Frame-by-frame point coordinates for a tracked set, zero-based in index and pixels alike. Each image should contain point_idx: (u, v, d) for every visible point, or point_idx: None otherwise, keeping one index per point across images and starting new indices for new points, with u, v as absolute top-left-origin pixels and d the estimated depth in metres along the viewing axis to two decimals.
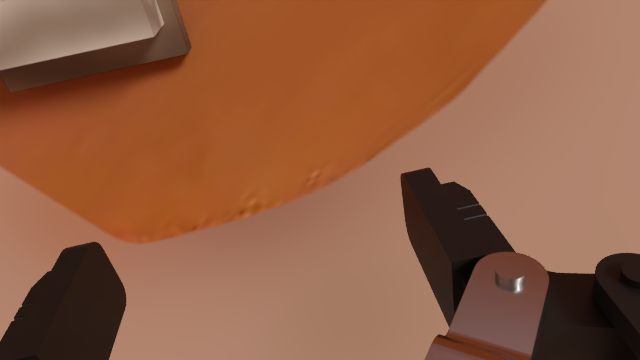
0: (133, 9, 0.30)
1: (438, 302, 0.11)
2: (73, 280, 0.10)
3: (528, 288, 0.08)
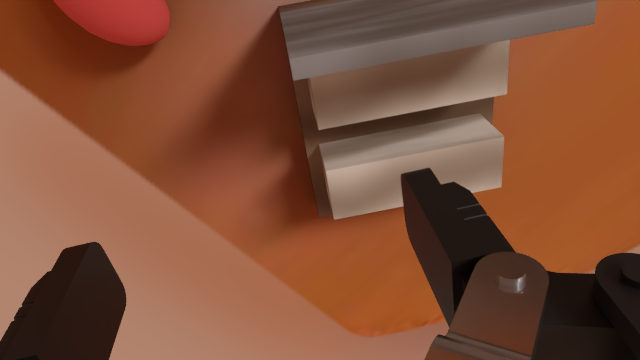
0: (493, 165, 0.32)
1: (438, 302, 0.11)
2: (73, 280, 0.10)
3: (528, 288, 0.08)
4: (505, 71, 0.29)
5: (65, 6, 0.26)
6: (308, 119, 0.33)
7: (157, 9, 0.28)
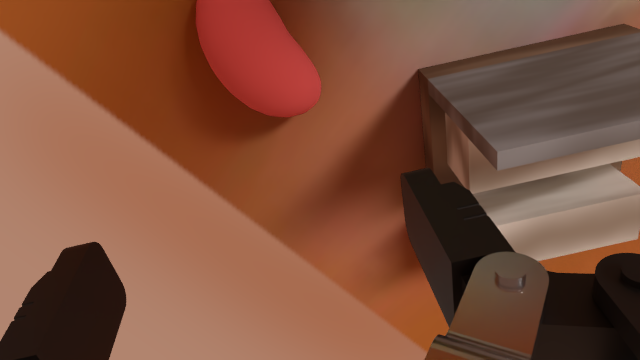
0: (632, 219, 0.32)
1: (438, 302, 0.11)
2: (73, 280, 0.10)
3: (528, 288, 0.08)
4: None
5: (237, 87, 0.26)
6: (442, 176, 0.33)
7: (315, 83, 0.28)
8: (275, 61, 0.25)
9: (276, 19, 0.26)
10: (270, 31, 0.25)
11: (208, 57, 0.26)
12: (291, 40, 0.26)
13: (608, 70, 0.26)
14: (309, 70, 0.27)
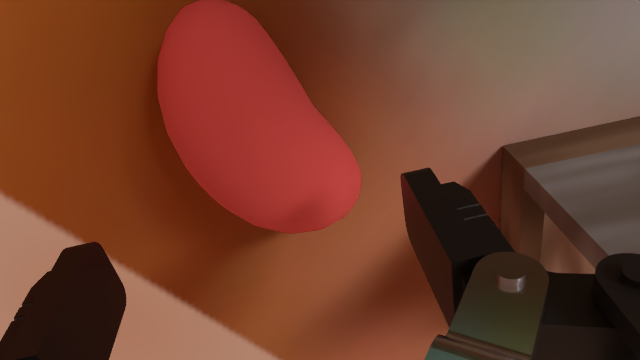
0: None
1: (438, 302, 0.11)
2: (73, 280, 0.10)
3: (528, 288, 0.08)
4: None
5: (227, 202, 0.16)
6: None
7: (355, 182, 0.17)
8: (291, 162, 0.15)
9: (294, 89, 0.15)
10: (284, 113, 0.14)
11: (178, 152, 0.15)
12: (318, 121, 0.16)
13: None
14: (346, 165, 0.17)
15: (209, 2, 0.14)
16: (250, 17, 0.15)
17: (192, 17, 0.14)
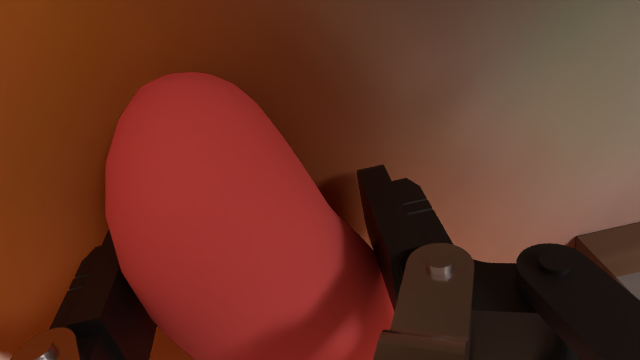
0: None
1: (388, 292, 0.11)
2: None
3: (453, 276, 0.08)
4: None
5: None
6: None
7: None
8: (307, 320, 0.10)
9: (311, 205, 0.10)
10: (297, 249, 0.09)
11: (138, 297, 0.10)
12: (344, 243, 0.11)
13: None
14: (383, 298, 0.12)
15: (181, 81, 0.09)
16: (244, 100, 0.10)
17: (154, 106, 0.09)
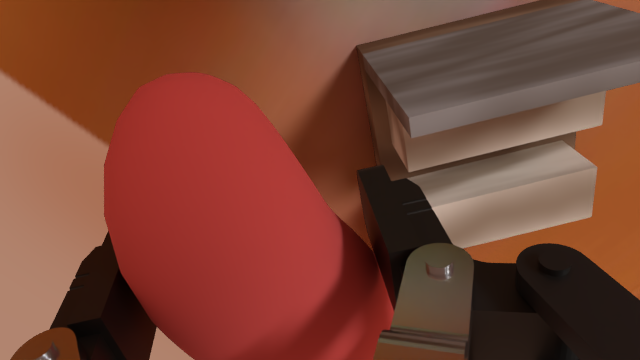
0: (584, 196, 0.31)
1: None
2: None
3: (453, 276, 0.08)
4: (601, 102, 0.28)
5: None
6: (388, 157, 0.32)
7: (392, 315, 0.12)
8: (306, 320, 0.10)
9: (309, 206, 0.10)
10: (295, 249, 0.09)
11: (137, 297, 0.10)
12: (343, 243, 0.11)
13: (541, 36, 0.25)
14: (382, 298, 0.12)
15: (180, 81, 0.09)
16: (242, 100, 0.10)
17: (153, 107, 0.09)
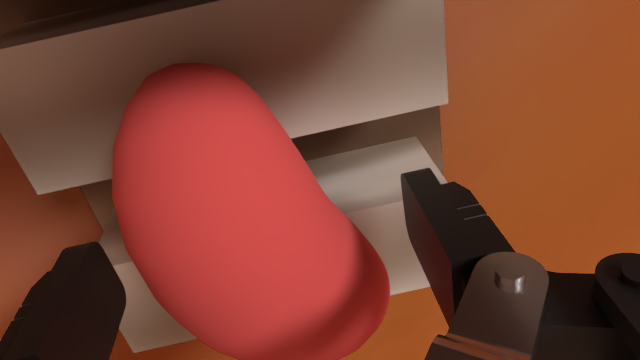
0: None
1: (438, 302, 0.11)
2: (73, 280, 0.10)
3: (528, 288, 0.08)
4: (439, 52, 0.13)
5: (210, 345, 0.11)
6: None
7: (384, 300, 0.13)
8: (303, 298, 0.10)
9: (307, 191, 0.11)
10: (294, 231, 0.10)
11: (142, 276, 0.11)
12: (338, 228, 0.11)
13: None
14: (375, 282, 0.12)
15: (187, 70, 0.10)
16: (245, 90, 0.10)
17: (161, 94, 0.10)
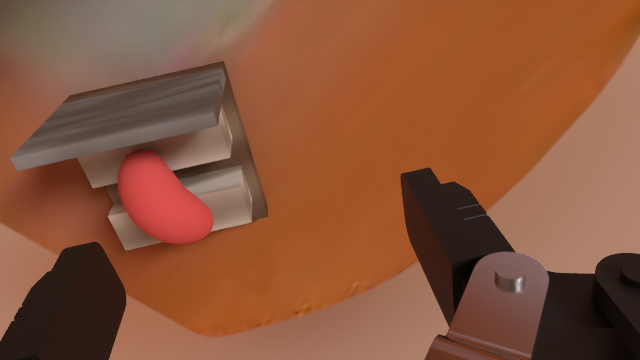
0: (239, 207, 0.43)
1: (438, 302, 0.11)
2: (73, 280, 0.10)
3: (528, 288, 0.08)
4: (222, 142, 0.39)
5: (146, 231, 0.38)
6: None
7: (206, 222, 0.40)
8: (171, 216, 0.37)
9: (173, 187, 0.37)
10: (167, 197, 0.37)
11: (126, 211, 0.38)
12: (185, 198, 0.38)
13: (152, 99, 0.36)
14: (200, 215, 0.39)
15: (138, 153, 0.37)
16: (155, 158, 0.37)
17: (131, 160, 0.36)
